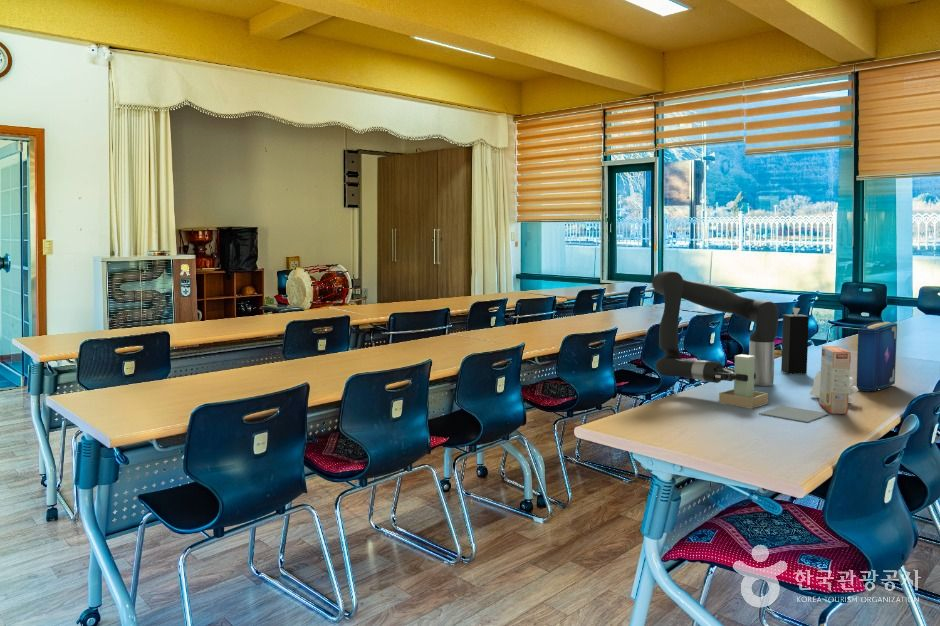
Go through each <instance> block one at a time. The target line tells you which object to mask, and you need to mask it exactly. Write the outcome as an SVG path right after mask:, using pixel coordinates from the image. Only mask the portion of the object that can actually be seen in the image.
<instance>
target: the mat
mask: <svg viewBox="0 0 940 626" xmlns="http://www.w3.org/2000/svg"><path fill="white" fill-rule="evenodd" d="M758 413H759V415H760V414H761V415H762V416H766V415H767V417H771V416H773V417H772V418H777V417H778V419H784V420H788V419H789V420H790V421H795V422H800V423H805V424H808V423H811V421H812V422H814V421H816V419H817V420H819V419H822V418H824V417H823V416H825V415H827V416H829V415H830V413H829V412H823V411H817V410H811V409H804V408H799V407H793V406H786V405H780V406H777V407H776V406H775V407H774V408H771V409H768V410H765V411H761V412H758ZM828 414H829V415H828ZM821 417H822V418H821ZM825 417H826V416H825ZM818 418H819V419H818Z"/></svg>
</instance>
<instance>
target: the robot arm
mask: <svg viewBox="0 0 940 626" xmlns="http://www.w3.org/2000/svg"><path fill="white" fill-rule="evenodd" d="M651 286H652V288H653V290H655V292H656V293H657V294H659V295H661V296H663V297H664V309H663V314H662V317H661V319H660V323H659V328H658V331H659V332H658V336H659V337H658V341H659V342H658V347H659V348H660V350H662V351H664V356H663V357H660V358H659V359H658V360H656V362H655V364H654V366H655V367H654V368H655V370H656V372H657V373H658V374H659V375H660V376H663V377H676V378H679V377H680V378H687V379H693V380H697V381H700V382H701V381H702V382H707V383H708V382H709V383H714V384H719V383H720V382H721V381H728V382H733V381H737V380H739V381H748V375H743V374H737V373H735V367H733V368H732V367H724V365H723V363H722V362H718V361H712V360H703V359H702V360H701V359H691V358H690V359H689V358H683V359H682V356H681V355H682V354H681V351H680V348H679V319H680V318H679V317H680V310H681V305H682V304H681V303H682V300H685V301H687V302H690V303H692V304H694V305H698V306H700V307H704V308H707V309H709V310H713V311H717V312H721V313H727V314H732V315H733V314H734V315H736V316H739V317H741V318H743V319H746V320H749V321H751V322H753V323H755V329H754V330H753V332H751V333H749V342H748V343H749V348H748V349H749V350H748V351H749V352H748V355H752V356H755V363H754V386H758V387H770V386H773V385H774V383H775V382H774V379H775V377H774V376H775V338H776V336H777V333H778V326H779V325H778V324H779V309H778V306H777V305H776V303H775V302H773V301H769V300H763V299H755V298H749V297H744V296H740V295H738V294H736V293H734V292H733V291H732V290H729V289H727V288H724V287H721V286H719V285H715V284H710V283H706V282H699V281H692V280H687V279H683V276H682V274H680V273H679V272H678V271H674V270H665V271H663V270H662V271H660V272H658V273H656V274H655V275H654V276H653V278H652V280H651Z"/></svg>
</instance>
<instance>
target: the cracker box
mask: <svg viewBox="0 0 940 626" xmlns="http://www.w3.org/2000/svg"><path fill="white" fill-rule="evenodd" d="M851 355H852V352H850V351H848V350H847V349H844V348H842V347H840V346H838V345H822V346H821V359H820V360H821V361H820V371H821V379H820V398H818V401H819V402H818V403H819V406H820V405H821V406H820V407H821V408H823V409H824V410H825V411H826V410H827V413H829V414H831V413H832V414H833V415H848V413H849V403H848V398H849V397H850V396H849V379H850V377H851V376H850V375H851V373H850V372H851V361H852V360H851V359H852V357H851Z"/></svg>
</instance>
